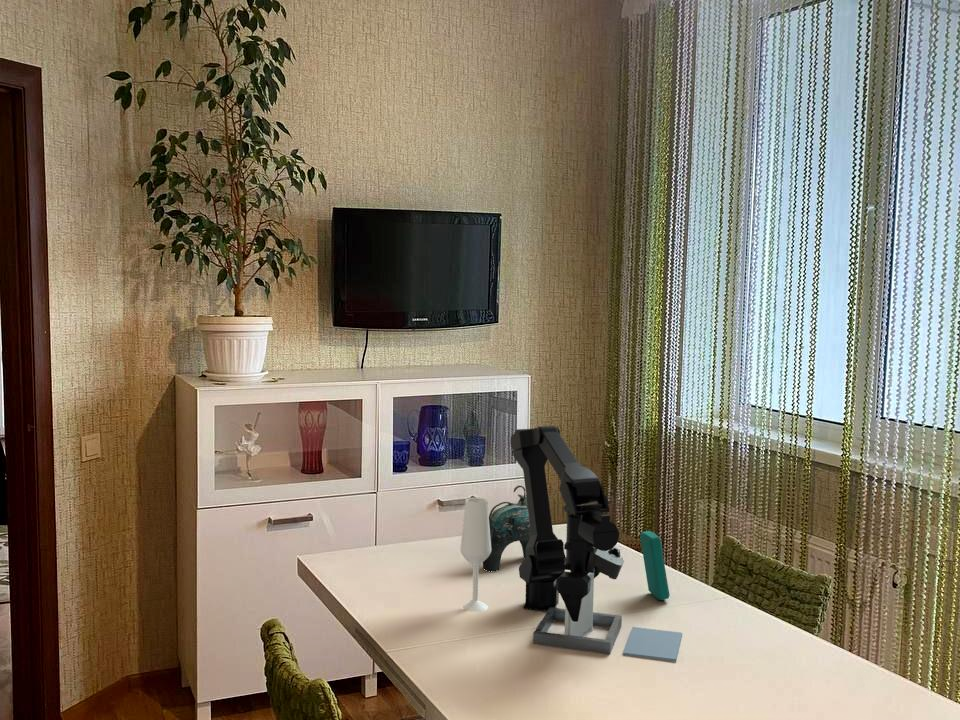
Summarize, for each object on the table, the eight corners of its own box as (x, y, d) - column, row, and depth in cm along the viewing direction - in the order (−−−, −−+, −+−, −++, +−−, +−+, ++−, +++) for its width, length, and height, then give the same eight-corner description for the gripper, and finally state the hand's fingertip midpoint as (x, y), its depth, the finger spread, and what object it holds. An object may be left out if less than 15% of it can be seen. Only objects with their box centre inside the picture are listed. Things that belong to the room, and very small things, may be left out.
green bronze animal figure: (532, 555, 246) (533, 479, 244) (550, 560, 241) (552, 483, 239) (476, 570, 232) (477, 490, 231) (494, 576, 228) (495, 495, 226)
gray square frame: (533, 645, 186) (533, 633, 186) (549, 618, 200) (549, 607, 200) (610, 655, 181) (610, 642, 181) (621, 627, 196) (621, 615, 196)
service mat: (623, 655, 181) (623, 652, 181) (632, 629, 195) (632, 626, 195) (676, 662, 179) (676, 659, 178) (682, 635, 192) (682, 632, 192)
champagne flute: (454, 611, 204) (456, 502, 202) (466, 601, 210) (468, 495, 208) (483, 615, 202) (485, 505, 199) (495, 605, 208) (496, 498, 206)
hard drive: (593, 631, 193) (595, 572, 192) (569, 643, 187) (571, 582, 186) (586, 629, 194) (588, 570, 193) (563, 640, 188) (564, 580, 187)
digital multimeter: (660, 603, 210) (672, 600, 211) (649, 538, 209) (662, 535, 210) (648, 594, 217) (660, 591, 218) (638, 531, 216) (650, 528, 217)
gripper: (614, 553, 178) (612, 634, 179) (627, 529, 196) (625, 602, 197) (556, 548, 181) (554, 628, 182) (574, 524, 199) (573, 597, 200)
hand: (579, 613), depth 190 cm, fingers open, 9 cm apart
